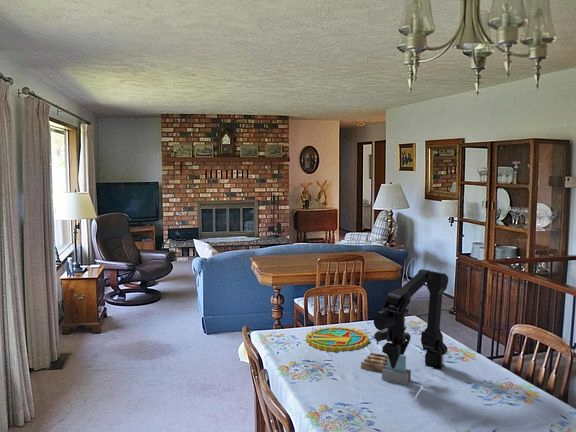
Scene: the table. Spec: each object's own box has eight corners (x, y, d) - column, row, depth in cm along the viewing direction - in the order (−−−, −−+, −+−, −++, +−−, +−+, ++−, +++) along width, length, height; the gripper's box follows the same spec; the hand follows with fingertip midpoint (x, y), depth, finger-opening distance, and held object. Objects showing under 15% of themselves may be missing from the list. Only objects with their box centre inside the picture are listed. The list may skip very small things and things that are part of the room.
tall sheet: (405, 380, 197) (405, 355, 196) (404, 381, 196) (404, 356, 195) (387, 377, 200) (388, 352, 199) (386, 378, 199) (387, 353, 198)
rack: (394, 363, 215) (394, 356, 215) (385, 374, 204) (386, 366, 204) (369, 359, 220) (369, 352, 220) (360, 369, 209) (360, 362, 209)
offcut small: (383, 369, 208) (383, 361, 207) (382, 370, 207) (382, 362, 206) (371, 367, 210) (371, 358, 210) (370, 368, 209) (370, 360, 208)
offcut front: (385, 365, 211) (385, 357, 211) (383, 367, 210) (384, 358, 210) (371, 363, 214) (371, 355, 214) (370, 364, 213) (370, 356, 213)
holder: (410, 380, 198) (410, 369, 197) (407, 385, 193) (407, 374, 193) (385, 376, 202) (385, 365, 202) (381, 380, 198) (382, 369, 198)
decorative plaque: (304, 346, 230) (307, 325, 260) (304, 351, 230) (307, 330, 260) (371, 347, 227) (366, 326, 257) (370, 353, 227) (366, 331, 257)
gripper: (384, 315, 208) (383, 352, 209) (369, 328, 191) (368, 368, 193) (411, 319, 202) (410, 357, 204) (398, 333, 186) (397, 374, 187)
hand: (396, 364), depth 197 cm, fingers open, 9 cm apart
